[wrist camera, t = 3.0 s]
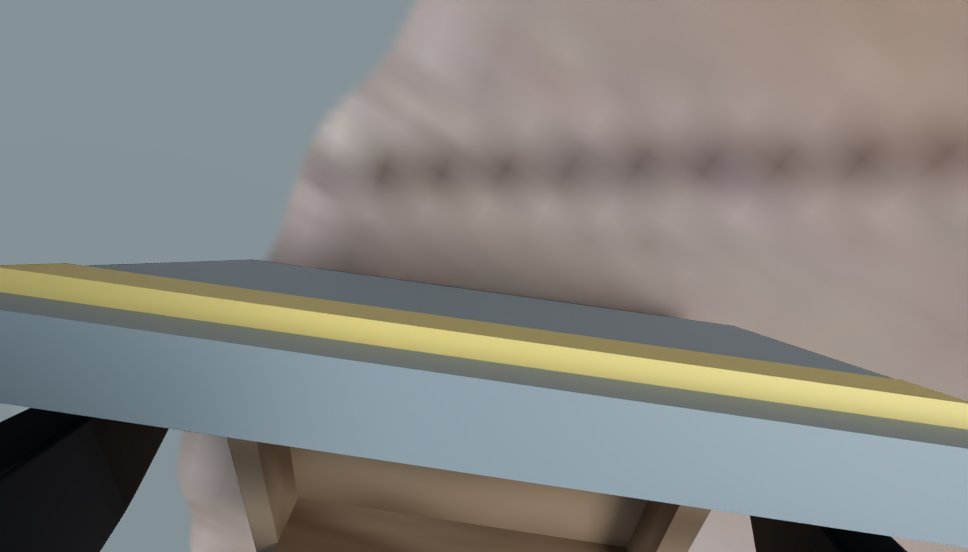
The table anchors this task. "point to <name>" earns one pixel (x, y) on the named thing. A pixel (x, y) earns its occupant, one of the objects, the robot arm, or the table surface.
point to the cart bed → (437, 509)
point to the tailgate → (489, 389)
